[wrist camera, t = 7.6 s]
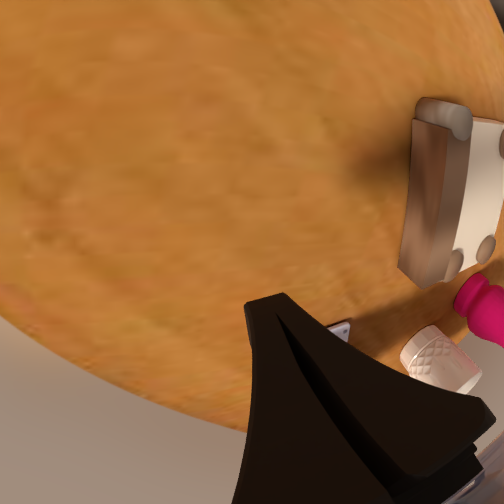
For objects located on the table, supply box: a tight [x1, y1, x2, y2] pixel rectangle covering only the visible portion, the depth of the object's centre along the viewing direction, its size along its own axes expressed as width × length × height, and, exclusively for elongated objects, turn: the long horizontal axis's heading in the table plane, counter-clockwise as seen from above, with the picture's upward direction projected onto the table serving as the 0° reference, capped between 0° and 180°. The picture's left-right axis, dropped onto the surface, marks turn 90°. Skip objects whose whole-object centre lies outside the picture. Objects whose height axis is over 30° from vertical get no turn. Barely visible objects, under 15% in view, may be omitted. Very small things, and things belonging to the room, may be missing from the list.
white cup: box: [400, 325, 483, 394], centre depth 30 cm, size 8×8×10 cm
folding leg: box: [397, 97, 473, 290], centre depth 19 cm, size 15×3×4 cm, turn 7°
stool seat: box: [437, 117, 504, 283], centre depth 22 cm, size 15×10×3 cm, turn 6°
